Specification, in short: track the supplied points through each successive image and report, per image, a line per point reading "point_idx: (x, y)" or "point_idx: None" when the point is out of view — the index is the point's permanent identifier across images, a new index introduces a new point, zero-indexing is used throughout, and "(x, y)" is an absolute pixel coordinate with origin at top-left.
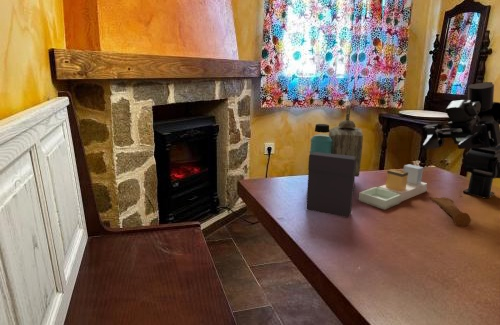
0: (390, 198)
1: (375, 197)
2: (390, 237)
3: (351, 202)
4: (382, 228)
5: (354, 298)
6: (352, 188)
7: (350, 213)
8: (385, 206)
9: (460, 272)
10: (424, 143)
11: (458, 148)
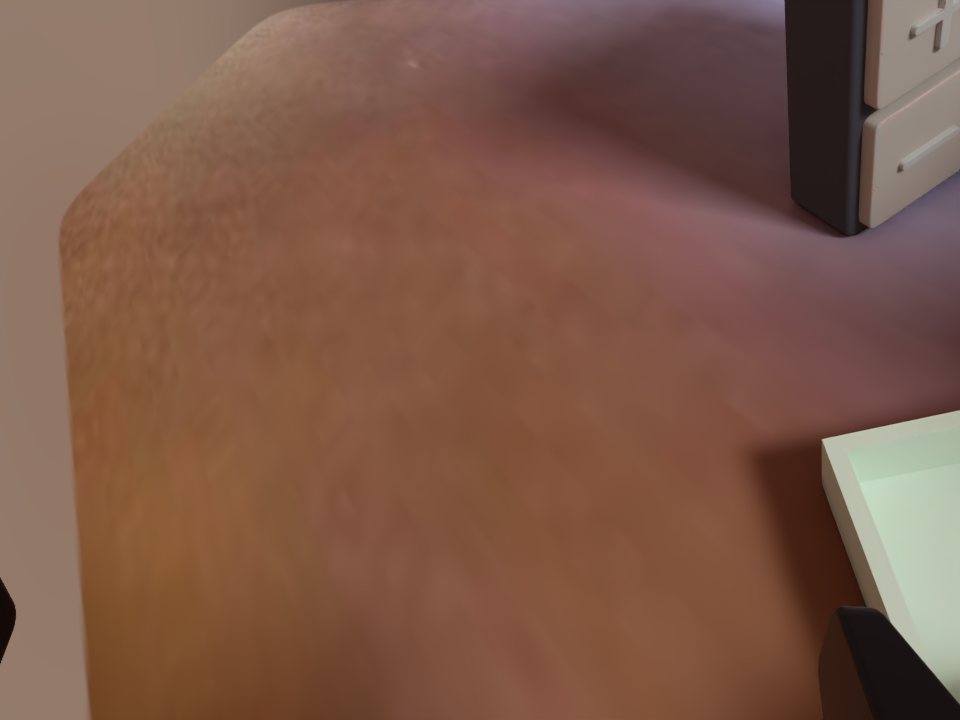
0: (861, 522)
1: (933, 417)
2: (489, 257)
3: (817, 149)
4: (582, 282)
5: (332, 10)
6: (801, 44)
7: (822, 216)
8: (824, 476)
9: (169, 303)
10: (902, 667)
11: (14, 610)
